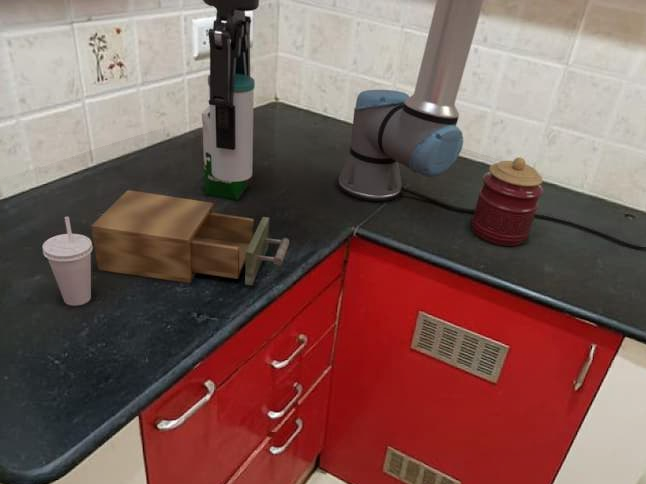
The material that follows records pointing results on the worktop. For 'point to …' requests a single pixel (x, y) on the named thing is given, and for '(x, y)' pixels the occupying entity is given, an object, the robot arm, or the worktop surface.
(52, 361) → the worktop surface
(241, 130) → the container
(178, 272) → the cabinet
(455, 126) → the robot arm
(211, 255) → the drawer
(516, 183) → the kitchen canister
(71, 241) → the smoothie
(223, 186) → the milk carton
